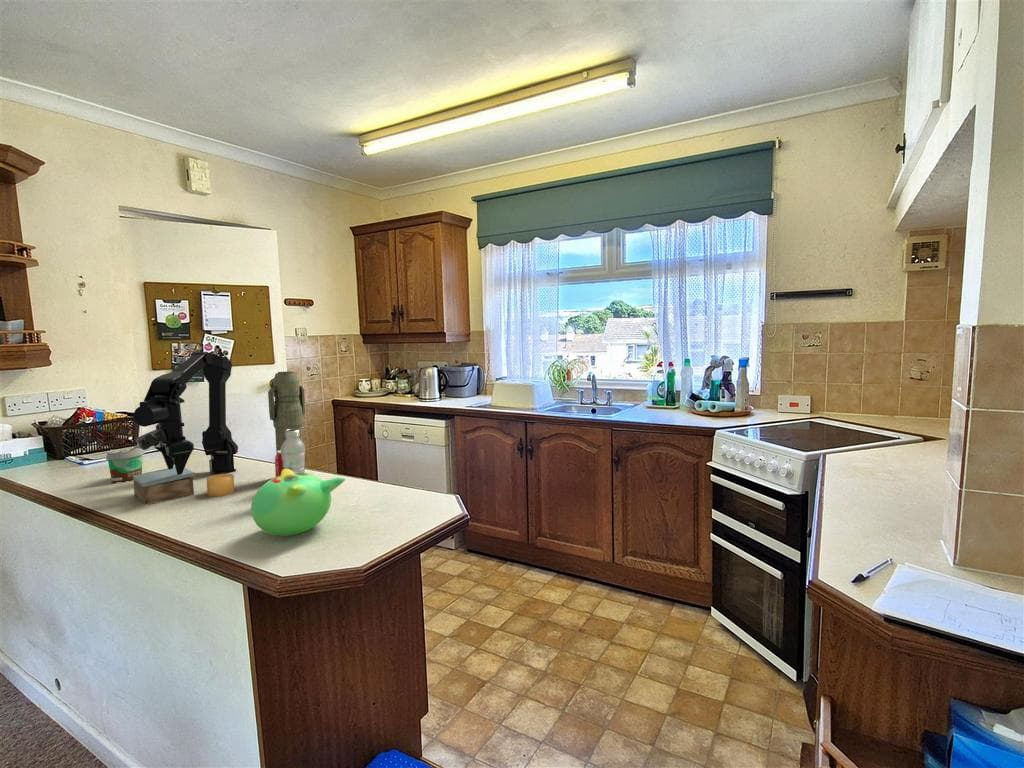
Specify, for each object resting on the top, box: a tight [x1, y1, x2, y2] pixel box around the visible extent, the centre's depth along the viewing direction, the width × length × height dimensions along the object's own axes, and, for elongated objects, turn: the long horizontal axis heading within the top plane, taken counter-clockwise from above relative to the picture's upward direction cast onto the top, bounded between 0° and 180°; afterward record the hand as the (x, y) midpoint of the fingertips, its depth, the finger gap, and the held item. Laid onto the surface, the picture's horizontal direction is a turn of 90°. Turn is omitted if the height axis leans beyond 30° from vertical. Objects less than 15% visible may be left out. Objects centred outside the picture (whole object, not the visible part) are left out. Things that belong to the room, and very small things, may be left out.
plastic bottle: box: [281, 429, 306, 473], centre depth 142 cm, size 6×7×20 cm
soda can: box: [274, 450, 284, 477], centre depth 152 cm, size 7×7×12 cm
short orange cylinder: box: [205, 473, 235, 498], centre depth 150 cm, size 7×7×5 cm
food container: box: [105, 445, 146, 484], centre depth 165 cm, size 12×6×10 cm, turn 179°
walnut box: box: [132, 476, 195, 506], centre depth 147 cm, size 12×12×5 cm
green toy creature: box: [250, 469, 346, 537], centre depth 119 cm, size 18×17×15 cm
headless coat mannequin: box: [267, 371, 306, 473], centre depth 164 cm, size 9×12×35 cm
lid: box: [133, 466, 195, 487], centre depth 147 cm, size 12×12×1 cm
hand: (175, 471), depth 149 cm, fingers open, 9 cm apart
